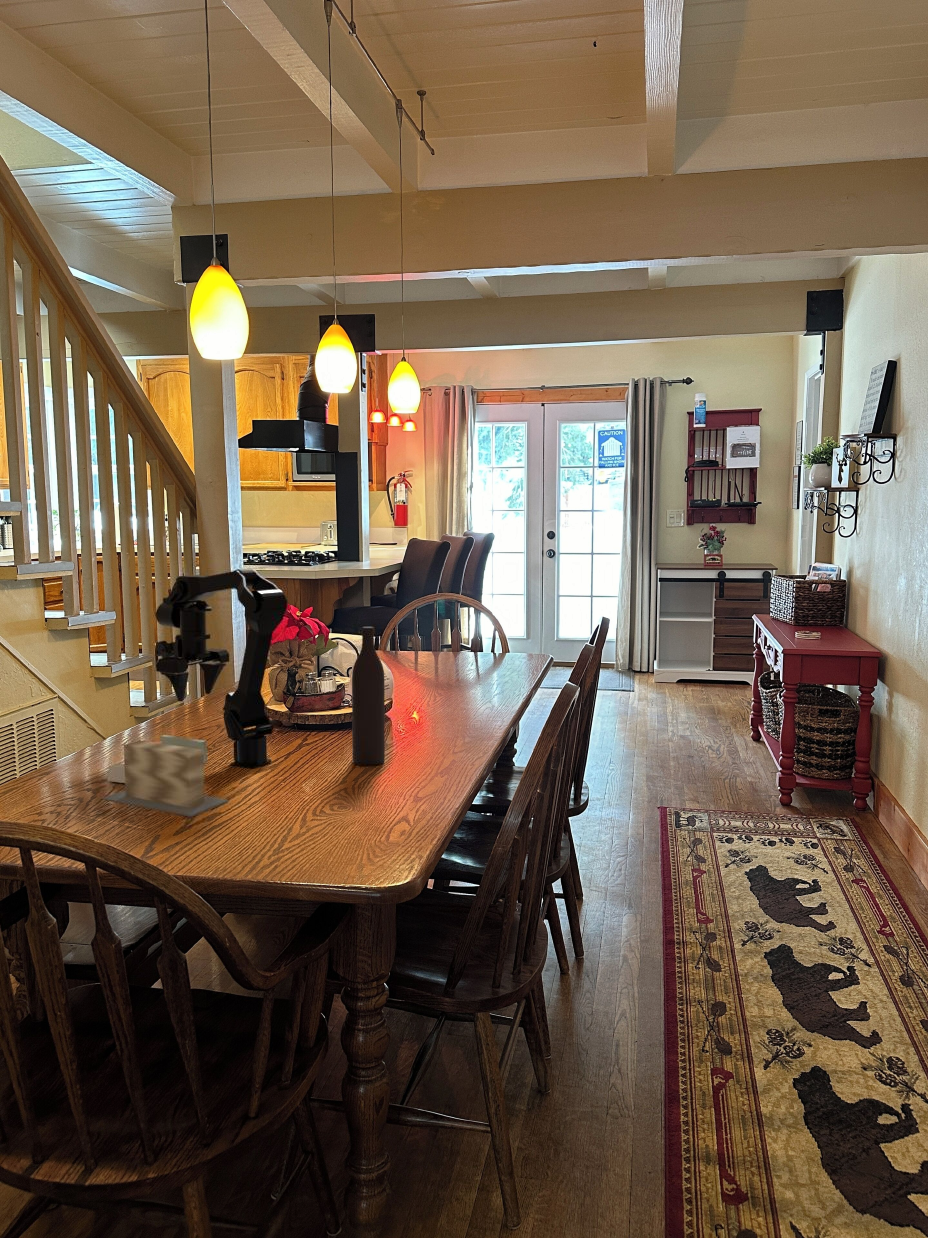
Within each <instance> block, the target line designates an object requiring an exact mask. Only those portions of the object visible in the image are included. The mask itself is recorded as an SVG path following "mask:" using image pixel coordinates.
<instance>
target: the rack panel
mask: <svg viewBox="0 0 928 1238" xmlns="http://www.w3.org/2000/svg"><path fill="white" fill-rule="evenodd" d="M160 743H161V744H167V745H174V746H181V747H187V748H194V749H201V750H203V758H204V765H205V764H207V763H208V749H207V748H208V747H207V740H202V739H196V738H191V737H183V736H175V735H169V734H163V735H160Z"/></svg>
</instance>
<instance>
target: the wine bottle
mask: <svg viewBox="0 0 928 1238" xmlns="http://www.w3.org/2000/svg"><path fill="white" fill-rule="evenodd" d="M360 633H361V637H362V638H361V639H362V640H361V643H362V644H361V650H360V651H359V653H358V656H357V658H356V660H355V662H354V664H353V667H352V673H351V702H352V703H351V707H352V709H351V713H352V714H351V716H352V717H351V720H352V723H351V724H352V725H351V729H352V731H351V733H352V737H351V741H352V743H351V744H352V746H351V747H352V762H353V764H355V765H358V766H363V767H371V766H372V767H373V766H374V767H375V766H378V765H381V764H383V763H385V759H386V755H385V754H386V752H385V751H386V749H385V747H386V743H385V742H386V741H385V740H386V739H385V738H386V737H385V735H386V731H385V730H386V729H385V723H386V722H385V715H386V714H385V713H386V712H385V710H386V709H385V706H386V705H385V702H386V701H385V698H386V697H385V693H386V692H385V691H386V689H385V670H384V667H383V663H382V661H381V659H380V657H379V655H378V654H377V651H376V649H375V639H374V638H375V634H376V633H375V628H374V627H373V626H362V627H361V630H360Z"/></svg>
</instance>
